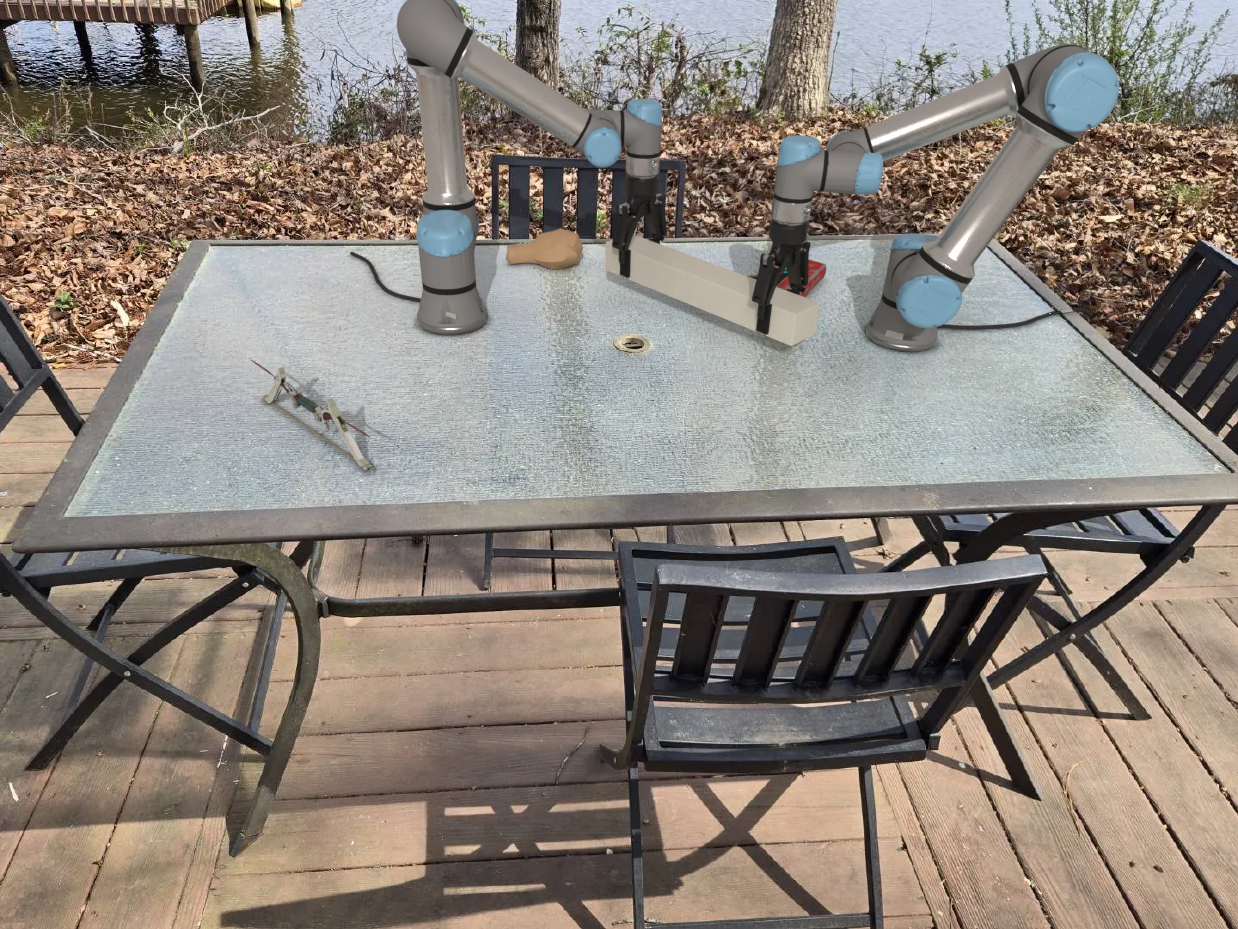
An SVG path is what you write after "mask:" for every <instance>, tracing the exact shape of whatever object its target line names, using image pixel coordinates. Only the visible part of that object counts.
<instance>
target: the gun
mask: <svg viewBox="0 0 1238 929" xmlns="http://www.w3.org/2000/svg"><path fill="white" fill-rule="evenodd" d="M774 267H776V268H780V267H778V266H775V265H774ZM826 273H827V264H826V263H823V262H820V261H816V260H812V259H809V267H808V285H807V286H803V287H804V288H806V290H805V292H800V296H803V297H805V298H806V297H807V296H808V295H809V294H810V293H811V292H812V291H813V290H814V289H815V287H817V285H818V284H820V283H821V282H822V280H823V279H824V278H825V276H826ZM757 275H758V274H756V275H753V274H752V275H751V274H750V275H747V276H748V277H751V278H753V279H757ZM801 279H803V278H802V277H801ZM776 287H778V288H781V289H783V290H786V291H787V290H788V289H792V288H790V285H789V280H788V274H787V269H786V268H785V271H784V273H782V274H781V275H780V278H779V281H778V283H777V286H776Z"/></svg>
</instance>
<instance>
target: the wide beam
mask: <svg viewBox="0 0 1238 929" xmlns="http://www.w3.org/2000/svg"><path fill="white" fill-rule="evenodd" d="M612 241H613V239H610V240H606V241H605V267H604V268H605V271H607V272H610V273H611V274H614V275H617V276H619V277H621V278H623V279H627V280H628V281H632V282H634V283H636V284H638V285H641V286H644V287H646V288H649V289H651V290H653V291H655V292H658V293H661V294H663V295H665V296H668V297H670V298H673V299H675V300H678V301H680V302H682V303H685V304H687V305H689V306H692V307H694V308H697V309H700V310H702V311H705V312H707V313H709V314H712V315H713V316H717V317H719V318H722V319H724V320H727V321H729V322H731V323H734V324H736V325H738V326H741V327H744V328H746V329H748V330H750V331H753V332H755V333H758V334H761V335H763V336H766V337H768V338H771V339H773V340H775V341H778V342H780V343H782V344H785V345H787V346H790V347H793V346H795V345H797V344H799V343H801V342H803V341H805V340H808V339H809V338H811V337H813V336H815V335H816V334H817V328H818V324H819V317H820V310H821V305H822V303H821V302H818V301H816V300H814V299H810V298H807V297H806V296H805V297H803V296H800V295H797V294H794V293H792V292H789V291H786V290H783V289H781V288H778V287H776V288H775V291H774V293H773V296H772V299H771V301H770V304H772V311H771V318H770V326H769V334H767V335H765V334H763V333H761V332H758V331H756V326H757V313H758V303H755V302H753V301H752V296H753V292H754V288H755V284H756V279H753V278H751V277H748V276H749V275H745V274H742V273H740V272H737V271H734V270H732V269H729V268H726V267H723V266H720V265H718V264H715V263H712V262H710V261H707V260H704V259H701V258H699V257H696V256H694V255H690V254H687V253H685V252H682V251H679V250H676V249H674V248H671V247H669V246H666V245H664V244H661V243H660V244H658V243H655V242H652V241H650V240H648V239H647V238H644V237H641V236H639V235H636V234H633V237H632V239H631V242H630V245H629V248H628V249H629V250H631V265H630V277H629V278H627V277H625V276H622V275H620V263H619V249H616V248H614V247H612Z"/></svg>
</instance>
